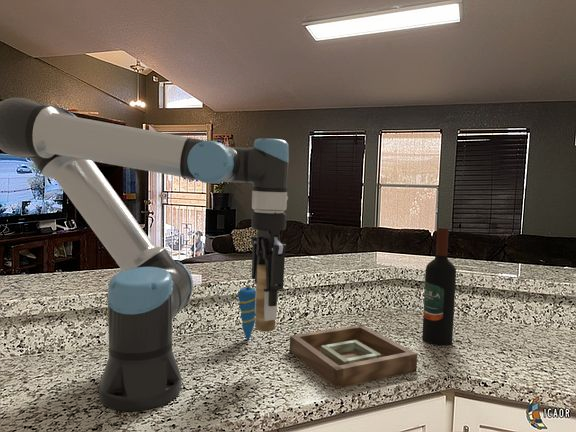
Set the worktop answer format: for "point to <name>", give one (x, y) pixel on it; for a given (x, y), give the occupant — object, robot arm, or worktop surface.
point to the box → (352, 355)
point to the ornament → (247, 309)
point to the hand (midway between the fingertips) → (265, 316)
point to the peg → (262, 301)
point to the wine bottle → (439, 295)
